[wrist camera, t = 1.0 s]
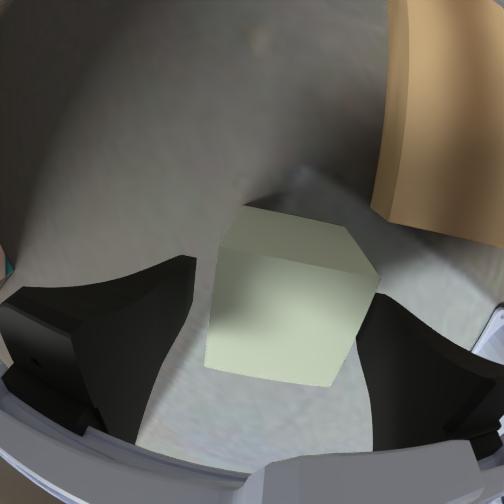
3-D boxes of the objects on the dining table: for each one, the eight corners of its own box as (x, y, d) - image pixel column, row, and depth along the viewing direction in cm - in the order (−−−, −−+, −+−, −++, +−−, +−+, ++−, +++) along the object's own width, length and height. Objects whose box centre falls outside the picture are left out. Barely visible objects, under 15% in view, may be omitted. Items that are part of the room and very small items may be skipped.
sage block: (344, 226, 13) (380, 278, 8) (317, 312, 15) (329, 387, 10) (242, 205, 13) (218, 246, 8) (227, 294, 15) (204, 366, 10)
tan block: (491, 29, 7) (517, 19, 4) (478, 231, 12) (507, 250, 10) (383, -25, 8) (399, -50, 5) (367, 205, 13) (388, 221, 10)
